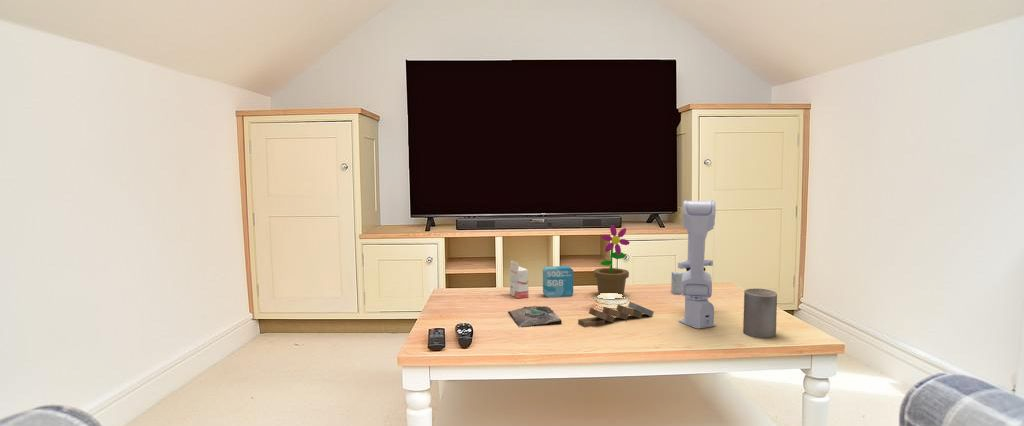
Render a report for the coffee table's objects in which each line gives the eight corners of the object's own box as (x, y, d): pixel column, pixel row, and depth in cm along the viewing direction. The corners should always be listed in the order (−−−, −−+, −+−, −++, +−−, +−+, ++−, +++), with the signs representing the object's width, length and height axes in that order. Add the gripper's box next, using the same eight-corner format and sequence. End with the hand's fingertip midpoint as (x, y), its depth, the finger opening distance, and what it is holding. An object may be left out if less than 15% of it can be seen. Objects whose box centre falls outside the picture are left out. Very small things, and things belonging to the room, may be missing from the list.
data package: (545, 297, 224) (545, 269, 223) (542, 295, 228) (542, 266, 227) (573, 296, 226) (573, 267, 225) (570, 293, 230) (570, 265, 229)
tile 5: (604, 319, 187) (584, 322, 184) (604, 325, 187) (584, 328, 184) (597, 316, 191) (578, 319, 188) (597, 322, 191) (578, 325, 188)
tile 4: (614, 317, 188) (599, 311, 184) (612, 322, 188) (597, 317, 184) (605, 313, 192) (590, 307, 187) (603, 318, 192) (588, 313, 187)
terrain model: (507, 312, 204) (507, 304, 204) (546, 310, 207) (546, 302, 207) (518, 328, 185) (518, 319, 184) (561, 326, 187) (561, 316, 187)
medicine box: (690, 292, 231) (690, 272, 230) (692, 294, 227) (693, 274, 226) (671, 291, 232) (671, 271, 231) (673, 294, 227) (673, 274, 226)
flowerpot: (602, 301, 218) (602, 226, 215) (588, 292, 231) (588, 222, 228) (634, 298, 221) (635, 225, 219) (618, 290, 235) (619, 221, 232)
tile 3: (628, 314, 192) (611, 309, 188) (626, 320, 192) (609, 315, 188) (620, 311, 196) (603, 306, 192) (619, 316, 196) (602, 312, 192)
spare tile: (654, 311, 195) (637, 304, 192) (651, 316, 195) (635, 309, 192) (646, 308, 199) (629, 301, 196) (644, 313, 199) (627, 306, 196)
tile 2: (642, 313, 194) (624, 307, 191) (640, 318, 194) (623, 312, 190) (635, 309, 198) (617, 304, 195) (633, 315, 198) (616, 309, 195)
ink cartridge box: (529, 297, 224) (529, 262, 223) (518, 299, 222) (518, 263, 221) (520, 293, 232) (519, 259, 230) (509, 294, 230) (509, 260, 228)
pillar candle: (748, 327, 182) (749, 283, 181) (779, 332, 176) (781, 287, 175) (739, 334, 175) (740, 289, 173) (771, 340, 169) (773, 293, 167)
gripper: (703, 246, 206) (703, 282, 207) (672, 249, 200) (672, 285, 202) (717, 249, 199) (716, 286, 201) (685, 252, 194) (684, 290, 195)
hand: (695, 286), depth 201 cm, fingers closed
